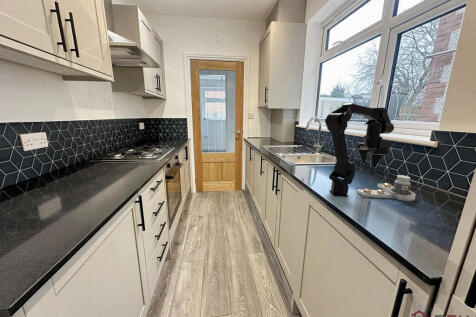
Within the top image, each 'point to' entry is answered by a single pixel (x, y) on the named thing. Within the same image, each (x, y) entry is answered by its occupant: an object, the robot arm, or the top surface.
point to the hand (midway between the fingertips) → (368, 165)
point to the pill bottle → (402, 185)
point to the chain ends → (386, 193)
